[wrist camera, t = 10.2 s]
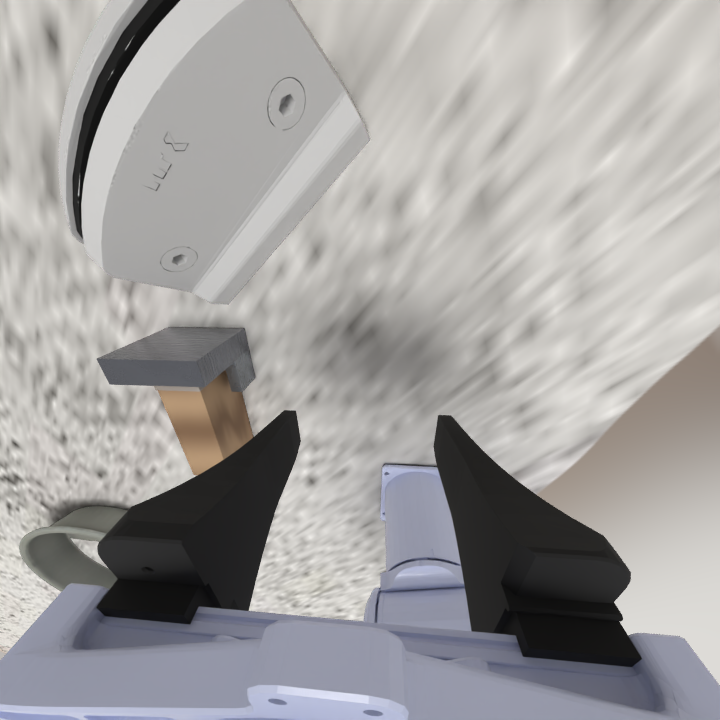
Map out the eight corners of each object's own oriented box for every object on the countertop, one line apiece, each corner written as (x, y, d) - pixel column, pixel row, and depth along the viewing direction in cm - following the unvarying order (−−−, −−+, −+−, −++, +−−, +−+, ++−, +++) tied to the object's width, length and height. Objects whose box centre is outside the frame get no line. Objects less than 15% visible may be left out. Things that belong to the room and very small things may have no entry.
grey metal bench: (255, 377, 25) (216, 421, 19) (186, 375, 25) (127, 418, 19) (244, 328, 22) (196, 361, 17) (168, 327, 23) (96, 358, 17)
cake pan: (19, 495, 37) (-26, 527, 33) (175, 497, 34) (148, 532, 30) (106, 583, 48) (80, 615, 44) (230, 589, 45) (215, 624, 41)
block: (254, 438, 28) (229, 478, 24) (222, 437, 28) (192, 475, 24) (233, 356, 24) (198, 385, 19) (196, 356, 24) (153, 384, 19)
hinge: (225, 307, 22) (62, 304, 12) (193, 263, 22) (7, 228, 12) (375, 133, 16) (282, -120, 7) (329, 76, 16) (176, -252, 7)
